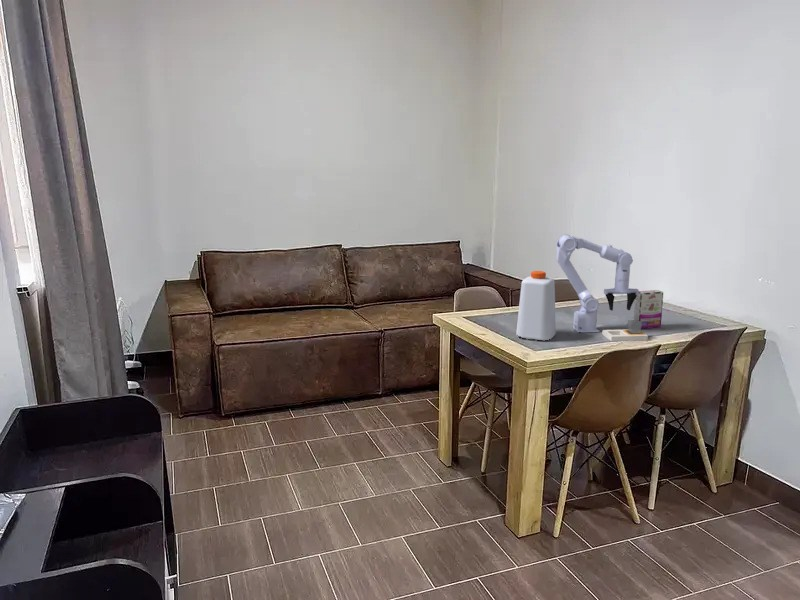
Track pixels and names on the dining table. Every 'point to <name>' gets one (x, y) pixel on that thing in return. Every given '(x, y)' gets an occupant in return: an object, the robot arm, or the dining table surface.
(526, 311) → the plastic bottle
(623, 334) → the shallow wooden tray
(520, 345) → the dining table surface
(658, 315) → the candy bar box
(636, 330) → the steel block
